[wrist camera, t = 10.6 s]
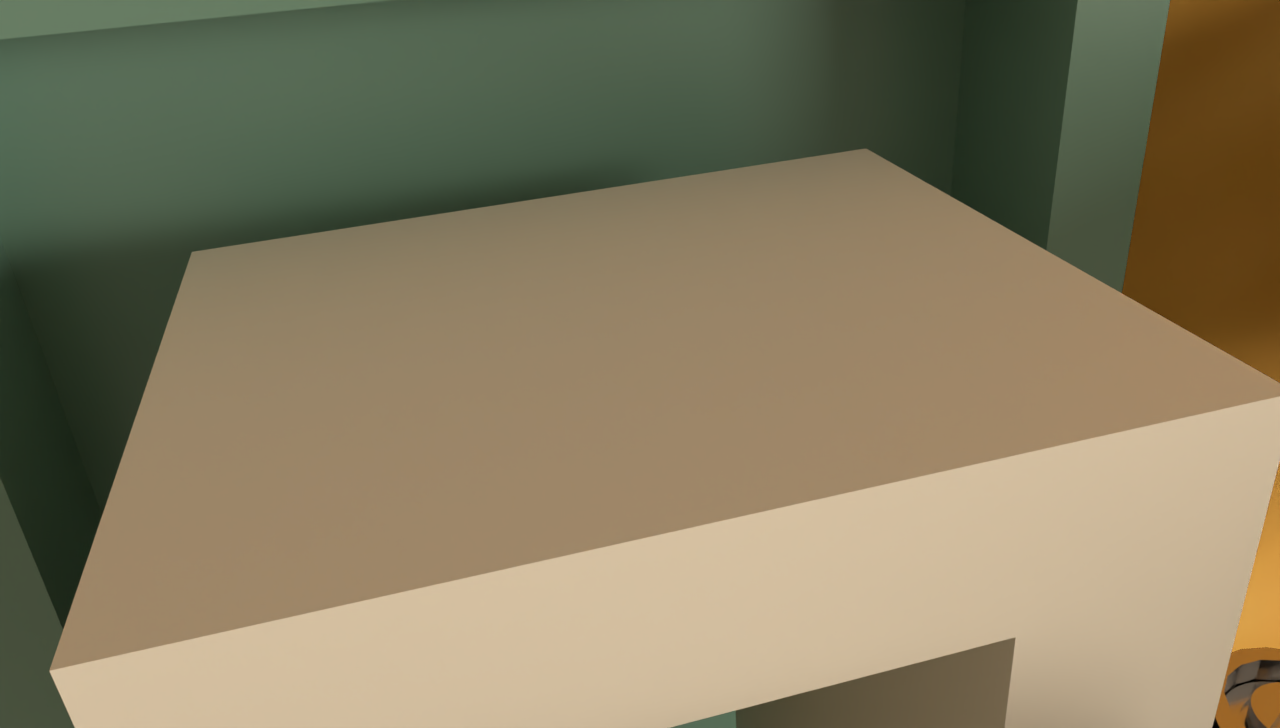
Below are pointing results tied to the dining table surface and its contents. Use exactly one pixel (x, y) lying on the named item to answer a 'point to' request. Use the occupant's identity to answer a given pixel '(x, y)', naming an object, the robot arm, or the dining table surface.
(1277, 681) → the robot arm
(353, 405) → the white hollow rectangular block
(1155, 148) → the dining table surface
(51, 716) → the tray
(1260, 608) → the dining table surface
